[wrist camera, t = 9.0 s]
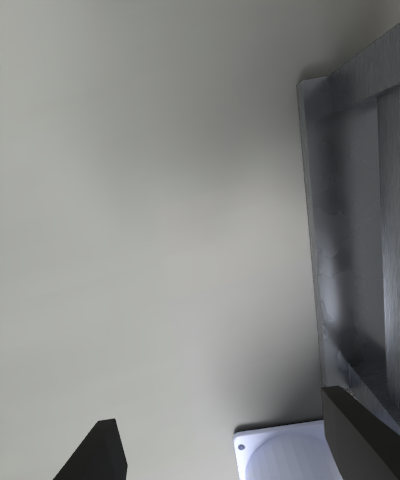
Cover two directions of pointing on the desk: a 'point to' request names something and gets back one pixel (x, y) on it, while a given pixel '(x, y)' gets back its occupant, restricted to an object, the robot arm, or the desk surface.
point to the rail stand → (356, 222)
